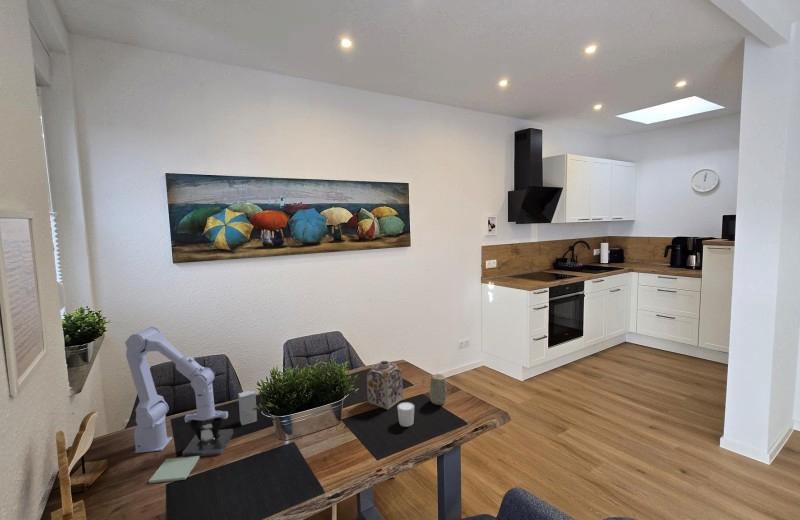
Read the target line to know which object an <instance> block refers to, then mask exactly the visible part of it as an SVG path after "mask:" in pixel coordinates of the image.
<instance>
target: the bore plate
mask: <svg viewBox="0 0 800 520" xmlns="http://www.w3.org/2000/svg"><path fill="white" fill-rule="evenodd" d="M233 435H234V429H233V428H228V429H227V428H225V429H219V435H218V437H217V438H216V439H217V441H216V443H215V444H211V445H201V440H198V437H197V435H196V434H195V435H193V436H194V437H193V438H192V439H191V440H190V442H189V443H188V444H187V445H186V447H185V448H184V450H183V451H182V452H181V453H182V457H192V456H199V457H207V456H216V455H222V454H223V452H224V451H225V449H226V447H227V446H228V444H229V442H230V440H231V438H232V436H233Z"/></svg>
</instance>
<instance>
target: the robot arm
mask: <svg viewBox="0 0 800 520" xmlns="http://www.w3.org/2000/svg"><path fill="white" fill-rule="evenodd" d="M124 344H125V347H126V353H125V357H126V361H127V363H128V366H129V370H130V373H131V376H132V380H133V383H134V386H135V391H136V392H137V396H138V399H139V402H138V404H137V406H136V408H135V413H136V416H135V422H136V424H137V425H136V427H135V428H134V432H133V436H134V437H133V439H134V445H135V446H134V447H135V450H134V454H138V453H146V452H147V453H149V452H159V451H163V450H164V449H165V447H166V446H168V444H169V443H170V442H171V441H172V439H173V436H168V435H167V424H166V417H167V416H166V415H167V414H168V412H169V410H170V409H169V408H170V407H169V405H168V403H167V402H166V401H165V399H164V396H163V395H159V394H158V392H157V390H156V385H155V382H154V379H153V376H152V372H151V369H150V365H149V362H148V359H147V357H146V356H147V353H148V352H149V353H150V352H159V353H160V354H161V355H162V356H163V357H166V358H167V359H168V360H170V361H171V362H173V364H175V369H176V371H178V372H179V373H180V374H182V376H184V377H186V378H187V379H188V380H189V381H190V386H191V388H192V389H193V391H194V394H195V403H196V404H195V405H196V412H195V413H194V412H193V413H189V414H186V415H185V416H184V422H185V423H189V422H190V424H189V427H190V428H191V429H192V430H193V432H194V433H195V435H197V437H198V440H201V435H200V428H201V427H202V426H203V421H207V420H212V422H211V424H212V426H213V430H214V438H215V439H216V438H217V437H218V435H219V430H220V429H221V428H220V427H221V424H222V422H223V420H227V419H228V417H229V412H228V411H226V410H224V411H223V410H216V409H215V400H214V388H213V381H214V380H215V378H216V376H215V375H216V374H215V372H214V370H212V368H210V367H204V366H202V365H200V363H198V362H197V361H196V360H195V358H194V357H191V356H189V355H188V356H187V355H183V354H182V353H181V352H180V351H179V350H178V349H177V348H176V347H175V346H174V345H173V344H171V342H169V341H168V339H166V336H165V333H164V332H162V331H161V330H160V329H159V328H157V327H155V326H150V327H148V328H147V329H144V330H141V331H139V332H136V333H134V334H131V335H130V336H129V337H128V338H127V339H126V341H125V342H124Z"/></svg>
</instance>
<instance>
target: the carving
mask: <svg viewBox="0 0 800 520" xmlns="http://www.w3.org/2000/svg"><path fill="white" fill-rule="evenodd" d="M430 377H431V378H430V383H429V385H430V386H429V387H430V389H429V397H430V398H429V399H430V402H431V403H432V404H434V405H438V406H441V405H443V404H444V403H445V401H446V398H447V379H446V377H445V375H443V374H441V373H440V374H439V373H435V374H432V375H431V376H430Z"/></svg>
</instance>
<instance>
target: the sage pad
mask: <svg viewBox="0 0 800 520" xmlns="http://www.w3.org/2000/svg"><path fill="white" fill-rule="evenodd" d="M200 457H201V456H192V457H183V456H181V457H175V458H174V457H173V458H165V460H164V461H163V463H162V464H161V465H160V466H159V468H157V470H156V471H155V472H154V474H152V476H151V478H149V480H148V484H152V483H153V484H154V483H164V482H173V481H174V482H175V481H182V480H186V479H187V477H189V474H190V473H191V471H192V470H194V469H193V468H194V467H195V465H197V462H199V460H200Z"/></svg>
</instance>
